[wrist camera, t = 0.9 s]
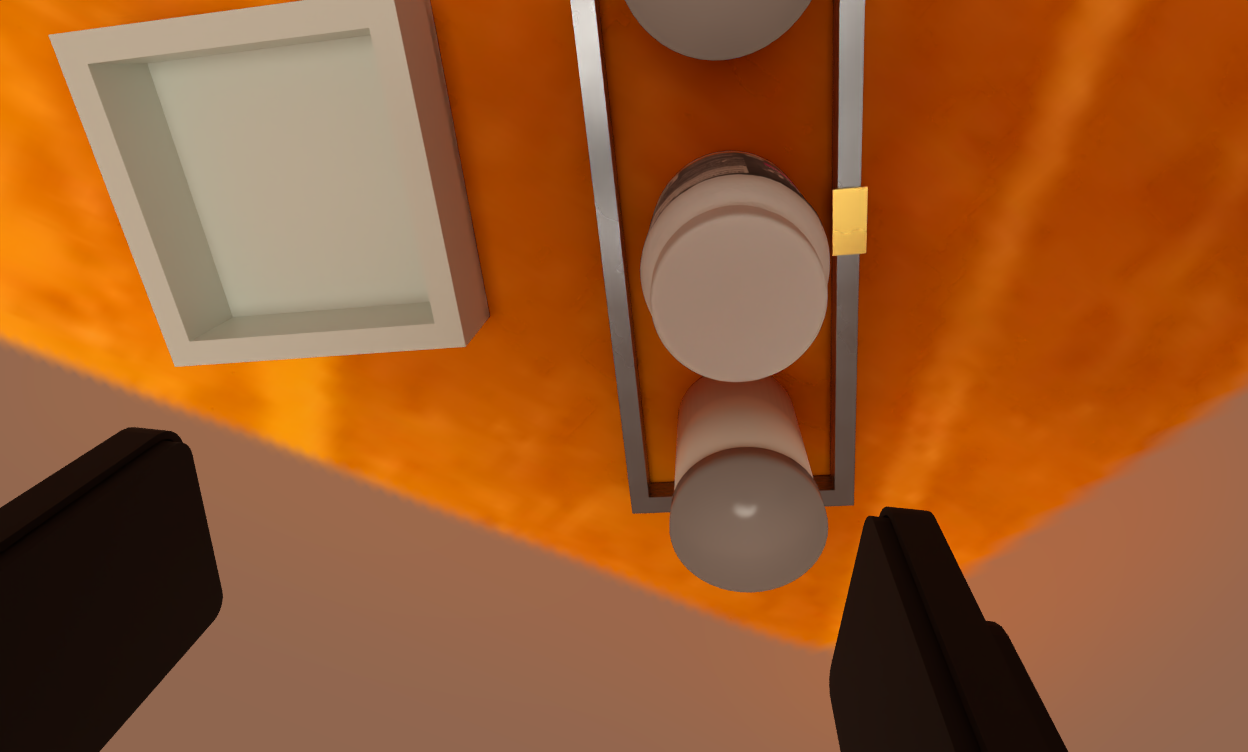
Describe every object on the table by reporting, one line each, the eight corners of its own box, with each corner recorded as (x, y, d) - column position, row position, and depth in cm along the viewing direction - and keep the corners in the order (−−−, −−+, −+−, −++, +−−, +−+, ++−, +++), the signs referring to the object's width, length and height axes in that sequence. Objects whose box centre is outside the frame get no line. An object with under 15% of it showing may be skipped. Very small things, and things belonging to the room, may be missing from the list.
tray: (429, -4, 26) (391, -12, 22) (489, 316, 30) (465, 346, 27) (124, 37, 27) (48, 34, 24) (227, 335, 32) (175, 366, 29)
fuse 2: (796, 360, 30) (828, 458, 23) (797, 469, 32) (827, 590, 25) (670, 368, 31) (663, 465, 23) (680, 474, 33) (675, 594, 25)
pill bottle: (825, 251, 28) (887, 343, 19) (695, 319, 30) (695, 434, 21) (759, 117, 26) (792, 149, 17) (625, 196, 28) (591, 263, 19)
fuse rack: (867, -184, 22) (877, -198, 21) (853, 489, 32) (859, 507, 31) (559, -136, 24) (551, -147, 22) (634, 498, 33) (632, 516, 32)
